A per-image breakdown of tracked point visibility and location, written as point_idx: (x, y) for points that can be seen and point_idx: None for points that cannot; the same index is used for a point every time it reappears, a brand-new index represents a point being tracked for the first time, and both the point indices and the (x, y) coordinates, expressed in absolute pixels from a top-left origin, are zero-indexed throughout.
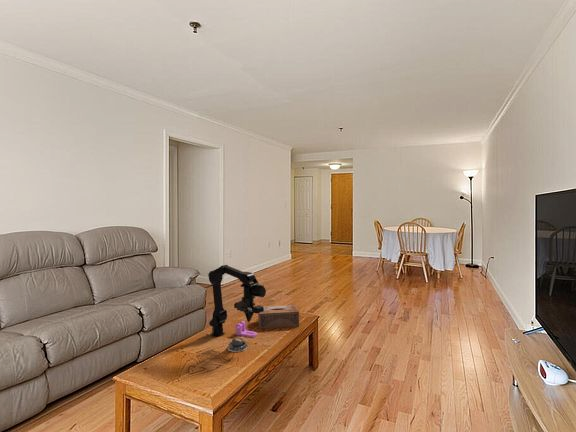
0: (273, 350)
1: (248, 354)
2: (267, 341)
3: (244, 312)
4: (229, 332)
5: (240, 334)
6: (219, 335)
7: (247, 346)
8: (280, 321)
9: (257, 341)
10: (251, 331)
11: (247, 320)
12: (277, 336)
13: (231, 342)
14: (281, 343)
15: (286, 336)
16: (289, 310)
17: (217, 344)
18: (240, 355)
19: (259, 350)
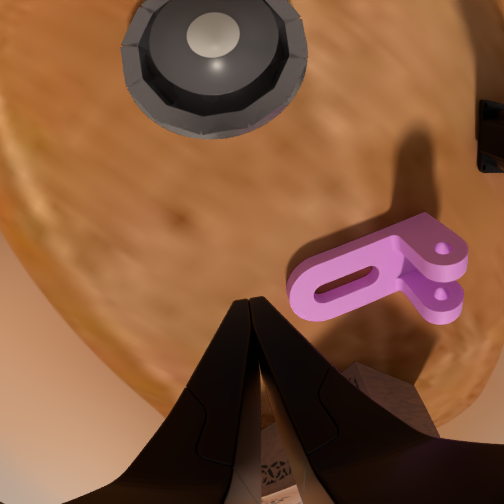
0: (19, 239)
1: (52, 66)
2: (152, 296)
3: (406, 454)
4: (469, 206)
5: (394, 228)
6: (481, 121)
7: (160, 122)
8: (279, 446)
9: (199, 248)
10: (355, 306)
11: (265, 308)
12: (184, 370)
13: (287, 25)
14: (82, 329)
15: (154, 391)
16: (272, 501)
17: (388, 2)
18: (80, 11)
19: (54, 166)
